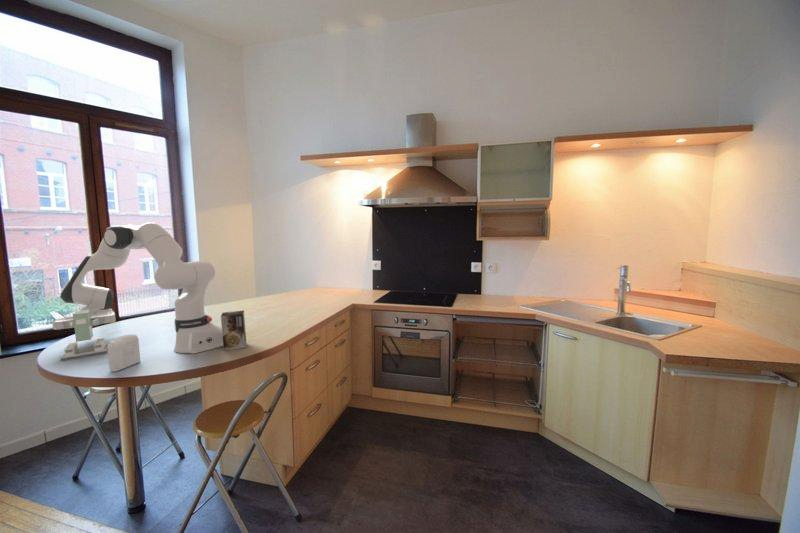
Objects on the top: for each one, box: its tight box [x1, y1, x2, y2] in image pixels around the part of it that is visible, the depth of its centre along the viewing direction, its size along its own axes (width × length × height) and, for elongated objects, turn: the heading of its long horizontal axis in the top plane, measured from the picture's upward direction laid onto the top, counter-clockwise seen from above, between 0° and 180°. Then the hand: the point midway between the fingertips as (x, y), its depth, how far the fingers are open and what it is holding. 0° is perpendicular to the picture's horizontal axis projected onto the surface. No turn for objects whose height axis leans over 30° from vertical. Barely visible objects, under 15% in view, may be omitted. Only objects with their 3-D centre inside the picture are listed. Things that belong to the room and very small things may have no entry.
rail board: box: [60, 337, 108, 362], centre depth 141 cm, size 14×11×4 cm
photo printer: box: [106, 334, 141, 373], centre depth 126 cm, size 10×4×12 cm, turn 170°
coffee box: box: [220, 310, 248, 352], centre depth 146 cm, size 9×6×16 cm
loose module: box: [72, 310, 94, 343], centre depth 140 cm, size 4×6×12 cm
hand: (82, 324), depth 139 cm, fingers closed on loose module, 4 cm apart
